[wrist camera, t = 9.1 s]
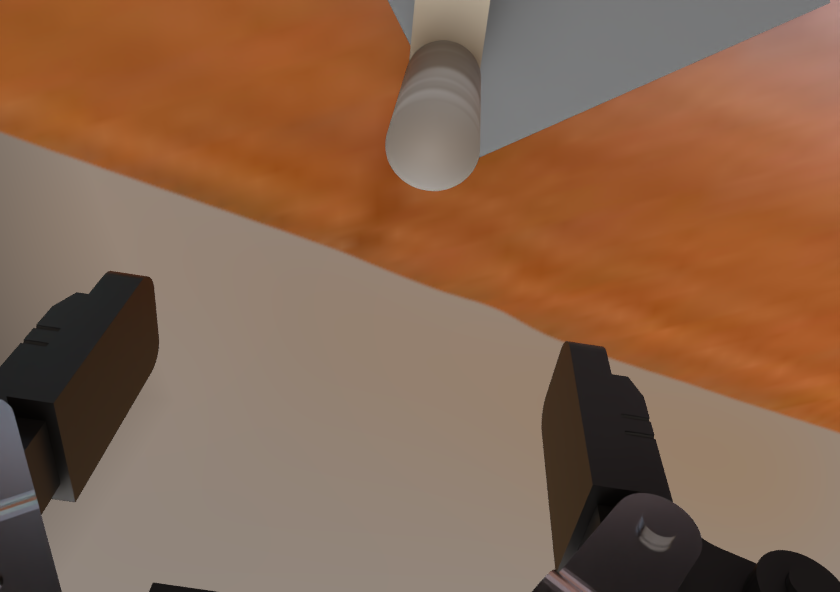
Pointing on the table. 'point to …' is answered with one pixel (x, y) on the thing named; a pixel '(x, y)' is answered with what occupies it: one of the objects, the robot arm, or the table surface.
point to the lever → (440, 96)
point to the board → (596, 51)
